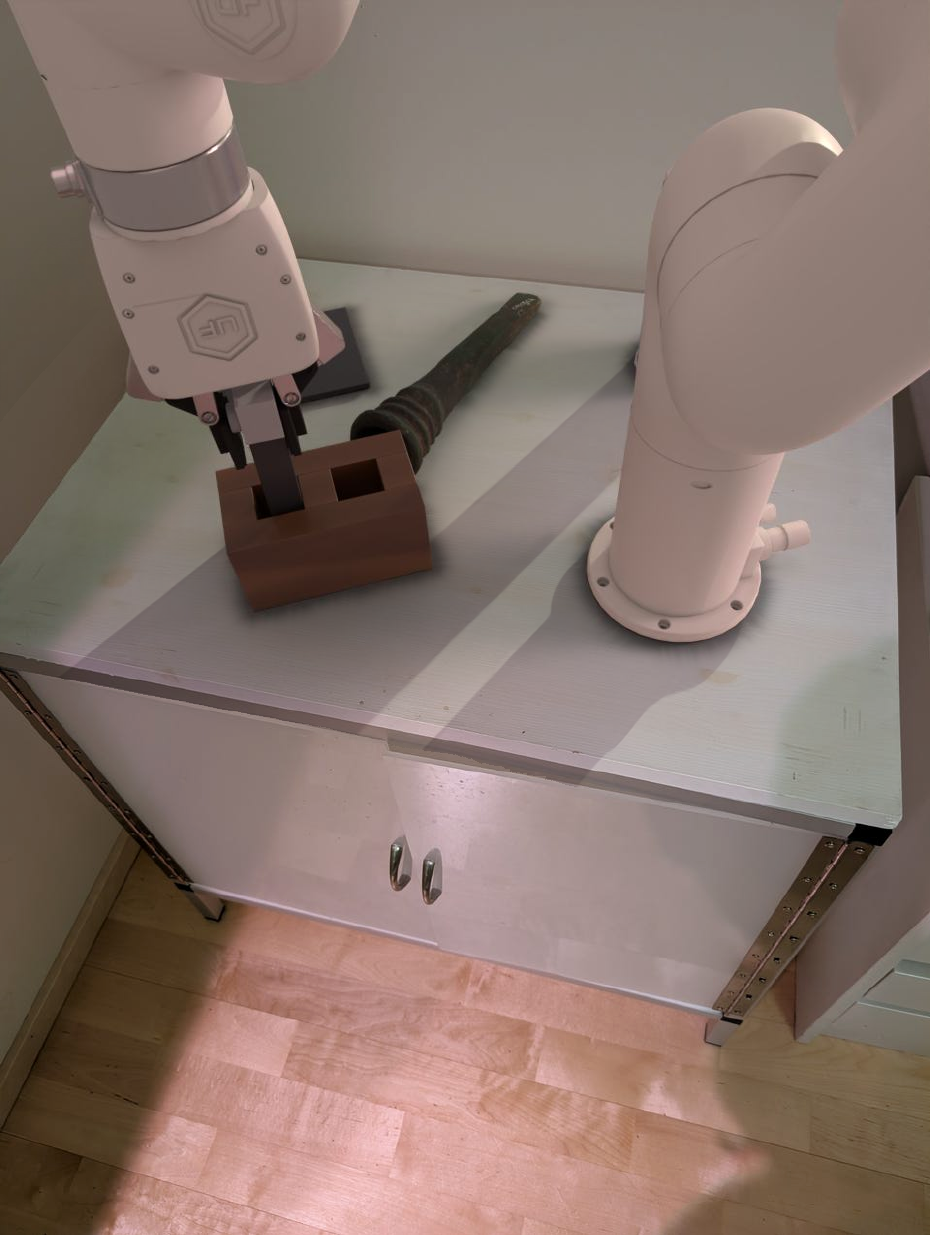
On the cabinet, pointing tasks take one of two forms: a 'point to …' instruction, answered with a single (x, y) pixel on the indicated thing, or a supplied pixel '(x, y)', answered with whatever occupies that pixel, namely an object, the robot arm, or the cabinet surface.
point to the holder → (327, 523)
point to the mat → (335, 366)
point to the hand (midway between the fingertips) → (266, 446)
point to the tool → (445, 382)
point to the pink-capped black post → (266, 444)
